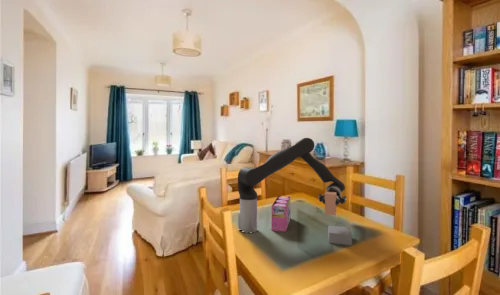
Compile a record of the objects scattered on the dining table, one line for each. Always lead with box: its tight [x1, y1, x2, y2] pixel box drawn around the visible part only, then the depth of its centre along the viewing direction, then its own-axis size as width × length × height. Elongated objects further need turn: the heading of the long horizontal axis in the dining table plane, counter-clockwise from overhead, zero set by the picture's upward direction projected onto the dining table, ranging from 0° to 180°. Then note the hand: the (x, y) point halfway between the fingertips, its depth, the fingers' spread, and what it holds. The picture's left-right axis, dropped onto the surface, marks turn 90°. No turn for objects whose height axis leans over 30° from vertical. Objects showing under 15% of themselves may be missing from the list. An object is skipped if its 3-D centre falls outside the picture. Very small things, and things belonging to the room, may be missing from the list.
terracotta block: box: [324, 191, 337, 216], centre depth 120 cm, size 5×5×10 cm
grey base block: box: [327, 225, 353, 246], centre depth 118 cm, size 10×10×5 cm
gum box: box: [270, 195, 292, 232], centre depth 141 cm, size 24×8×14 cm, turn 164°
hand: (330, 202), depth 118 cm, fingers closed on terracotta block, 5 cm apart
